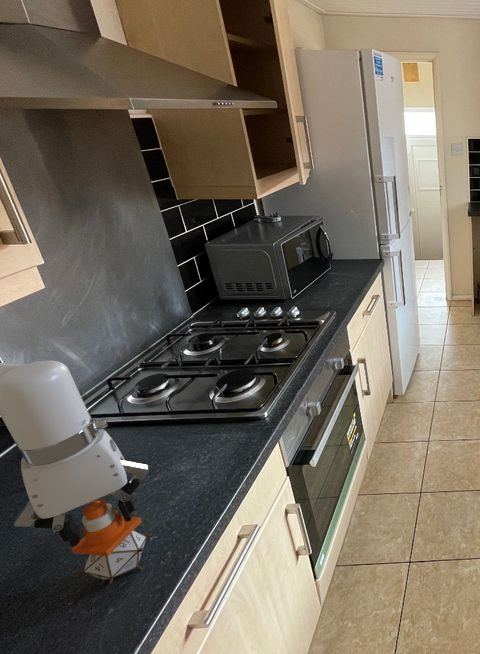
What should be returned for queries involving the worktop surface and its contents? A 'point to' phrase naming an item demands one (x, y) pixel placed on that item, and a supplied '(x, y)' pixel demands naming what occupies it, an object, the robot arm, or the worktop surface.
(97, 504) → the cone
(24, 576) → the worktop surface
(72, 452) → the robot arm
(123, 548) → the game die
